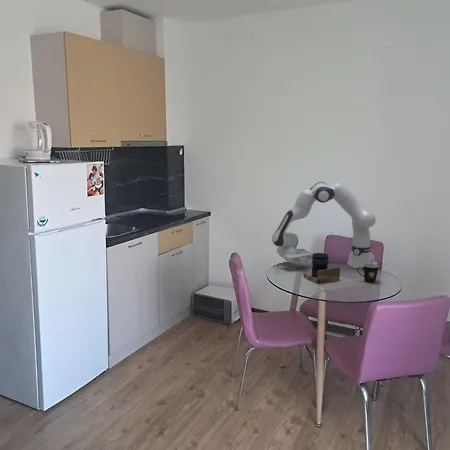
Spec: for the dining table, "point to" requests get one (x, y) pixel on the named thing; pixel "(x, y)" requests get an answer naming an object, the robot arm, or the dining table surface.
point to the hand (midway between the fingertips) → (306, 260)
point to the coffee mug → (369, 272)
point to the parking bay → (325, 275)
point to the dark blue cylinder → (319, 263)
